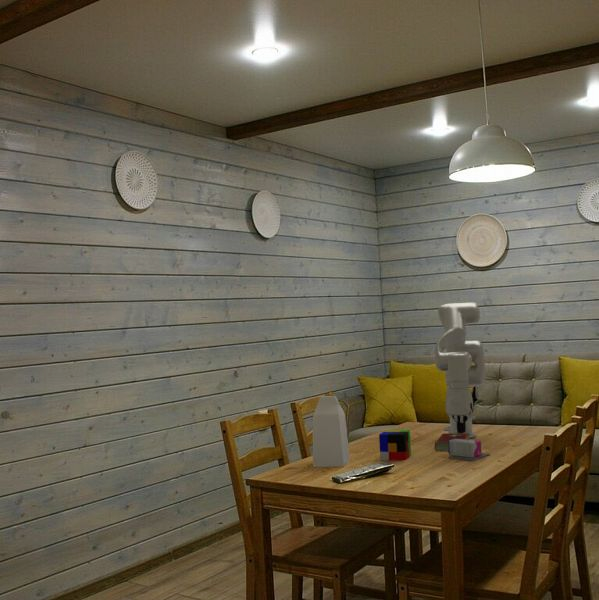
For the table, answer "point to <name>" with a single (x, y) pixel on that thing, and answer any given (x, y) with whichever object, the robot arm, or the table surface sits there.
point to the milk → (329, 434)
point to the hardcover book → (443, 439)
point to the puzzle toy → (395, 445)
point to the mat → (469, 457)
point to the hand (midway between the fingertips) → (461, 432)
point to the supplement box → (464, 447)
